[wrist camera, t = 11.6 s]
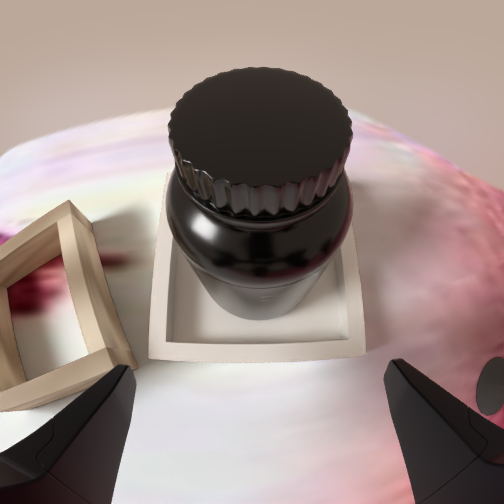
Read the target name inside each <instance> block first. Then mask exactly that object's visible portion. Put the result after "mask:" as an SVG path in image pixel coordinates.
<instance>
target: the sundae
mask: <svg viewBox="0 0 504 504" xmlns="http://www.w3.org/2000/svg"><path fill="white" fill-rule="evenodd" d="M476 397H477V404H478V407H479V410H480V411H481V413H483V414H484V415H487V416H488V415H492V414H495V413H496V412H497V411H498V410H499V409H500V408H501V407H502V406H503V404H504V359H503V358H501V357H496V358H493V359H492V360H491V361H489V362H488V363H487V365H486V366H485V368H484V369H483V371H482V373H481V376H480V378H479V381H478V386H477V394H476Z"/></svg>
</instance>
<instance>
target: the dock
mask: <svg viewBox="0 0 504 504" xmlns="http://www.w3.org/2000/svg"><path fill="white" fill-rule="evenodd" d="M171 174H172V173H167V176H166V181H165V187H164V193H163V199H162V206H161V212H160V219H159V227H158V234H157V242H156V251H155V260H154V270H153V280H152V292H151V306H150V323H149V347H148V359H158V360H172V361H188V362H214V363H270V362H296V361H312V360H326V359H337V358H348V357H357V356H365V355H366V340H365V325H364V312H363V301H362V291H361V282H360V274H359V266H358V258H357V251H356V244H355V238H354V231H353V225H352V220H351V224H350V227H349V230H348V233H347V235H346V237H345V239H344V241H343V243H342V245H341V247H340V248H339V250H338V252H337V253H336V255H335V256H334V258H333V259H332V261H331V262H330V263H329V265H328V266H327V268H326V269H325V271H324V272H323V273H322V275H321V276H320V278H319V279H318V281H317V282H316V283H315V285H314V286H313V288H312V289H311V290H310V292H309V293H308V294H307V296H306V297H305V298H304V299H303V300H302V302H301V303H300V304H299V305H298V306H296V307H295V308H294V309H292V310H291V311H289V312H288V313H286V314H284V315H282V316H280V317H277V318H273V319H269V320H261V321H259V320H247V319H243V318H240V317H237V316H235V315H232V314H230V313H229V312H227V311H226V310H224V309H223V308H221V307H220V306H219V305H218V304H217V303H216V302H215V301H214V300H213V299H212V297H211V296H210V295H209V293H208V292H207V291H206V289H205V288H204V286H203V285H202V283H201V281H200V280H199V278H198V277H197V275H196V274H195V272H194V271H193V269H192V268H191V266H190V265H189V263H188V261H187V260H186V258H185V257H184V255H183V253H182V252H181V250H180V249H179V247H178V245H177V243H176V241H175V239H174V237H173V235H172V233H171V230H170V228H169V224H168V221H167V216H166V204H165V201H166V192H167V187H168V183H169V180H170V177H171Z"/></svg>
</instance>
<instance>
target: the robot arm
mask: <svg viewBox="0 0 504 504" xmlns="http://www.w3.org/2000/svg"><path fill="white" fill-rule="evenodd" d="M384 384H385V389H386V394H387V398H388V403H389V408H390V413H391V417H392V420H393V424H394V427H395V430H396V433H397V436H398V440H399V443H400V446H401V450H402V453H403V457H404V460H405V464H406V468H407V471H408V475H409V479H410V483H411V487H412V491H413V495H414V499H415V504H504V429H503V428H501V427H499V426H497V425H496V424H494V423H492V422H491V421H489V420H487V419H486V418H484V417H483V416H481V415H480V414H478V413H477V412H475V411H474V410H472V409H471V408H470V407H468V406H467V405H465V404H464V403H463V402H461V401H460V400H459V399H457V398H456V397H454V396H453V395H452V394H450V393H449V392H447V391H446V390H445V389H443V388H442V387H440V386H439V385H438V384H436V383H435V382H434V381H432V380H431V379H429V378H428V377H427V376H425V375H424V374H422V373H421V372H420V371H418V370H417V369H416V368H414V367H413V366H411V365H410V364H409V363H407V362H406V361H404V360H403V359H401V358H399V359H393V360H391V361H390V362H389V364H388V367H387V369H386V372H385V374H384ZM135 391H136V379H135V377H134V374H133V372H132V369H131V367H130V366H129V365H126V364H118V365H116V366H115V367H114V368H113V369H111V370H110V371H109V372H108V373H106V374H105V375H104V376H103V377H102V378H100V379H99V380H98V381H97V382H95V383H94V384H93V385H92V386H91V387H89V388H88V389H87V390H86V391H84V392H83V393H82V394H81V395H80V396H78V397H77V398H76V399H75V400H73V401H72V402H71V403H70V404H69V405H67V406H66V407H65V408H64V409H62V410H61V411H60V412H59V413H58V414H56V415H55V416H54V417H53V419H52V418H51V419H50V420H49V421H48V422H46V423H45V424H44V425H43V426H41V427H40V428H39V429H37V430H36V431H35V432H33V433H32V434H30V435H29V436H27V437H26V438H24V439H23V440H21V441H20V442H18V443H16V444H15V445H13V446H12V447H10V448H8V449H7V450H5V451H3V452H1V453H0V504H111V502H112V497H113V492H114V488H115V483H116V479H117V474H118V470H119V466H120V462H121V457H122V453H123V449H124V446H125V442H126V438H127V434H128V430H129V426H130V422H131V417H132V410H133V404H134V397H135Z"/></svg>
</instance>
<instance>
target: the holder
mask: <svg viewBox="0 0 504 504" xmlns="http://www.w3.org/2000/svg"><path fill="white" fill-rule="evenodd" d="M60 254H62V256H63V261H64V266H65V271H66V275H67V280H68V284H69V289H70V293H71V297H72V301H73V304H74V308H75V312H76V315H77V319H78V322H79V326H80V329H81V332H82V335H83V338H84V341H85V344H86V347H87V350H88V353H89V355H87V356H85V357H83V358H80V359H78V360H76V361H74V362H71V363H69V364H67V365H64V366H62V367H60V368H57V369H55V370H53V371H51V372H48V373H46V374H44V375H41V376H39V377H37V378H34V379H32V380H29V381H26V378H25V375H24V371H23V368H22V364H21V360H20V357H19V353H18V349H17V344H16V340H15V335H14V330H13V325H12V320H11V314H10V308H9V302H8V294H7V288H8V287H10V286H11V285H13V284H14V283H16V282H17V281H19V280H20V279H22V278H23V277H25V276H26V275H28V274H29V273H31V272H32V271H34V270H36V269H37V268H39V267H40V266H42V265H43V264H45V263H47V262H48V261H50V260H52V259H53V258H55V257H57V256H58V255H60ZM118 364H126V365H129V366H130V367H131V369H132V370H134V369H137V368H138V366H137V364H136V361H135V359H134V357H133V354H132V352H131V349H130V347H129V344H128V342H127V339H126V337H125V334H124V332H123V329H122V326H121V324H120V321H119V318H118V315H117V312H116V309H115V307H114V304H113V301H112V298H111V294H110V291H109V288H108V285H107V282H106V278H105V275H104V272H103V268H102V265H101V261H100V257H99V253H98V250H97V246H96V242H95V238H94V234H93V229H92V225H91V222H90V221H89V220H88V219H87V218H86V217H85V216H84V215H83V214H82V213H81V212H80V211H79V210H78V209H77V208H76V207H75V206H74V204H73V203H72V202H71V201H70V200H67V201H66V202H64V203H62V204H61V205H59V206H58V207H56V208H54V209H53V210H51V211H50V212H48V213H47V214H45V215H44V216H42V217H41V218H39V219H38V220H36V221H35V222H33V223H32V224H30V225H29V226H27V227H26V228H24V229H23V230H22V231H20V232H19V233H17V234H16V235H15V236H13V237H12V238H11V239H9V240H8V241H7V242H5V243H4V244H3V245H1V246H0V412H10V411H22V410H29V409H32V408H35V407H38V406H41V405H43V404H46V403H49V402H52V401H55V400H58V399H61V398H63V397H66V396H69V395H71V394H74V393H77V392H79V391H82V390H85V389H87V388H89V387H91V386H92V385H93V384H94V383H95V382H97V381H98V380H99V379H100V378H102V377H103V376H104V375H105V374H106V373H108V372H109V371H110V370H111V369H113V368H114V367H115V366H116V365H118Z"/></svg>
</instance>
